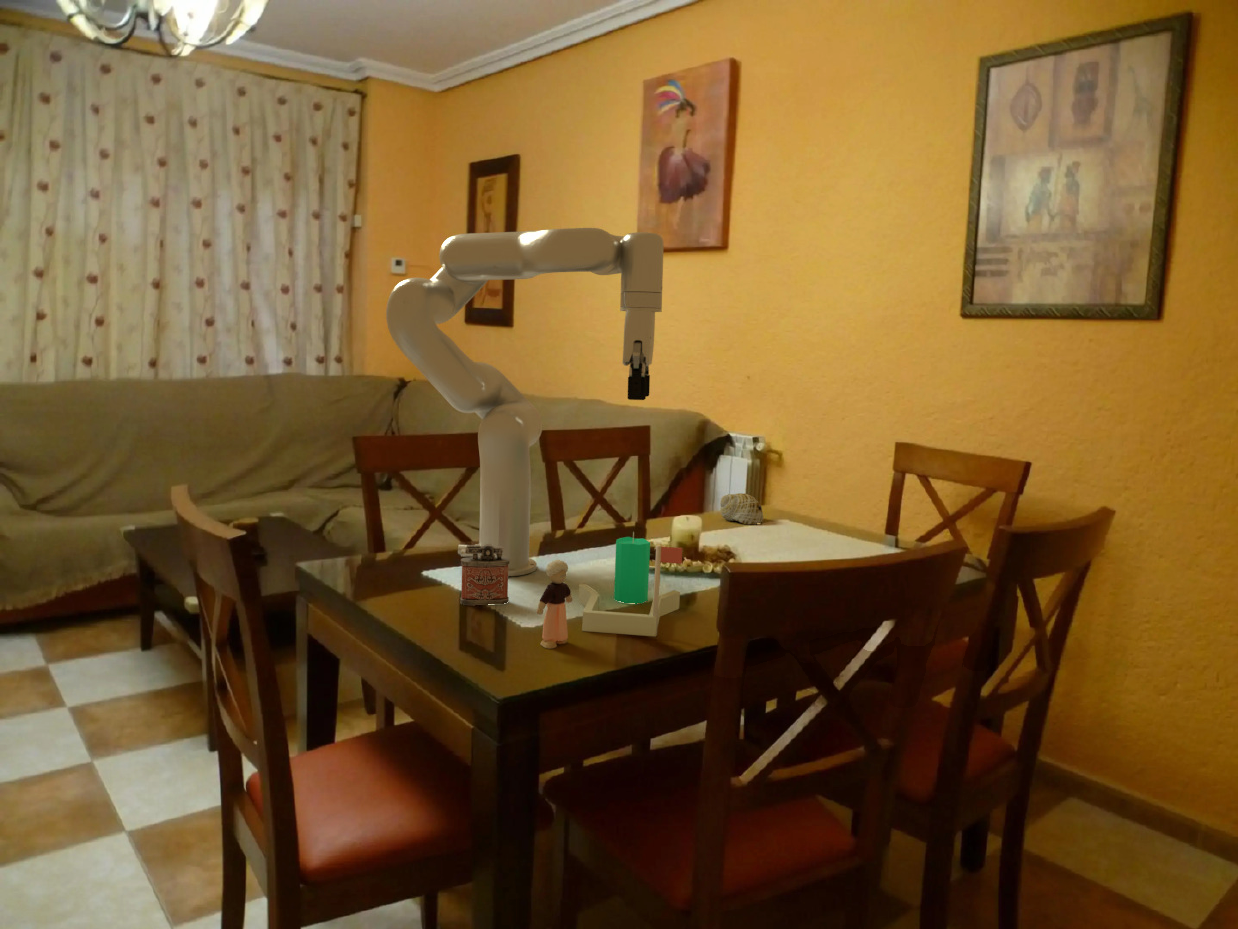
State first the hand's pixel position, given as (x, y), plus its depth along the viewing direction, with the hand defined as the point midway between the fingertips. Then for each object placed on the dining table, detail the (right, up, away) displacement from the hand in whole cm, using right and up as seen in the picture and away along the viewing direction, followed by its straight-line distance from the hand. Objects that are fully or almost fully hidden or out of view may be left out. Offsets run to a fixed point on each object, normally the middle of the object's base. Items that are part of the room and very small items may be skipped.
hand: (638, 397), depth 166 cm
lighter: (-26, -36, -13) cm, 46 cm away
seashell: (+27, -27, +63) cm, 74 cm away
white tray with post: (-3, -37, -19) cm, 42 cm away
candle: (-2, -36, -8) cm, 37 cm away
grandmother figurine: (-13, -39, -32) cm, 52 cm away
